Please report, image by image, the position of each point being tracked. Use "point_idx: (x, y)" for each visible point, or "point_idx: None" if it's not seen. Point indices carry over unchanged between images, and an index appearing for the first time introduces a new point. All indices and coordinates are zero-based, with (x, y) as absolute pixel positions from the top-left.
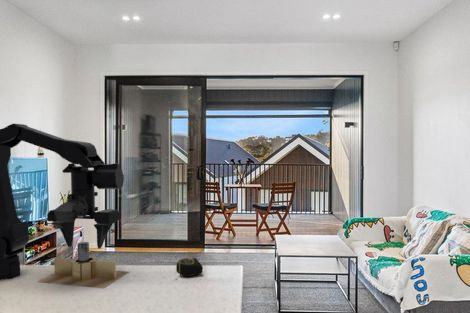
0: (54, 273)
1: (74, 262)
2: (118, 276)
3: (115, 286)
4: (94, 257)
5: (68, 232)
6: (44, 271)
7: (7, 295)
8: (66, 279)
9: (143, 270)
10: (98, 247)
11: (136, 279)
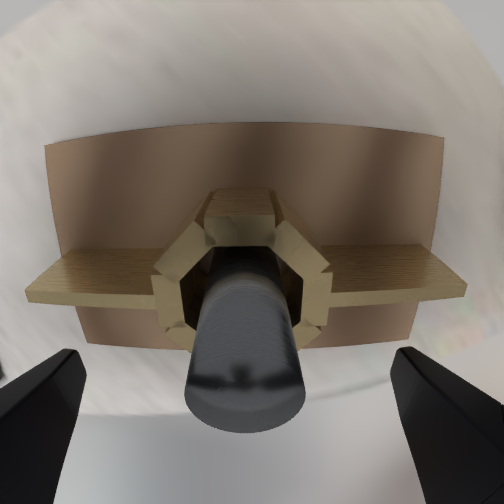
0: None
1: (276, 236)
2: None
3: None
4: None
5: (462, 461)
6: (481, 291)
7: (459, 31)
8: (317, 192)
9: (91, 378)
10: (62, 353)
11: None
